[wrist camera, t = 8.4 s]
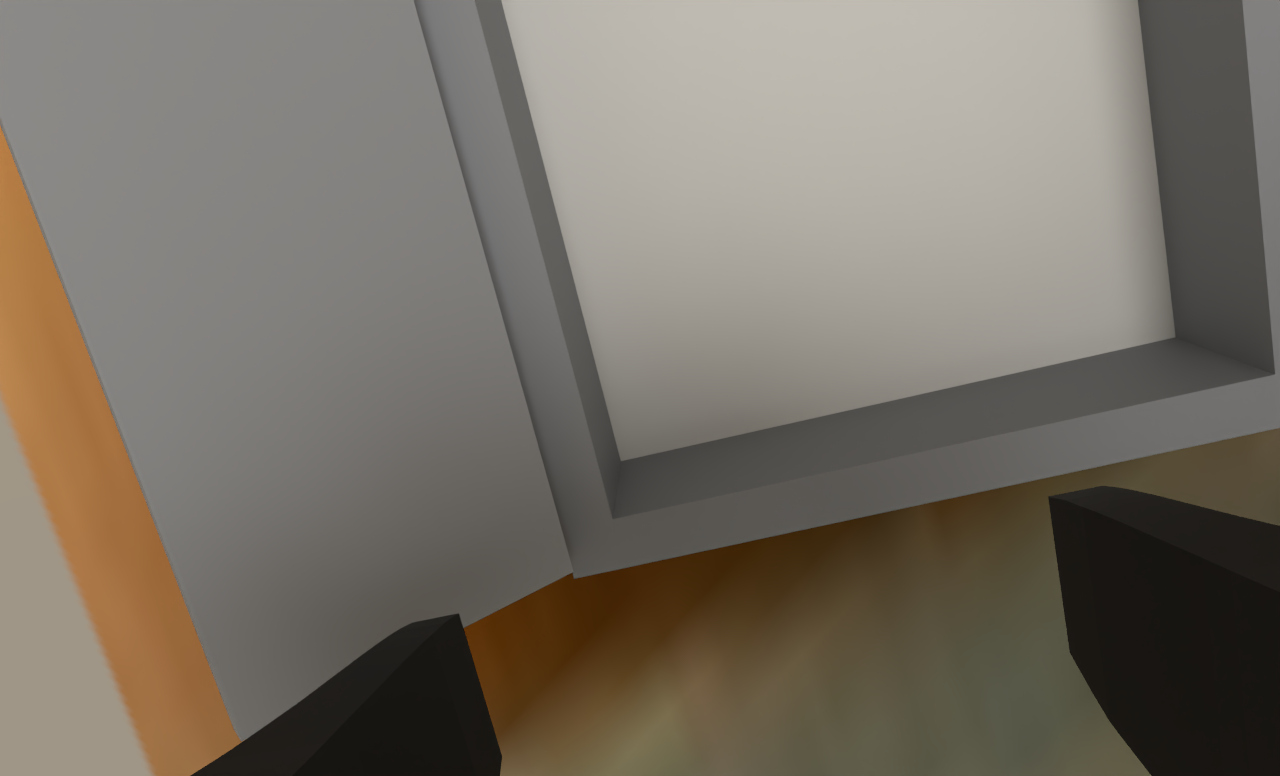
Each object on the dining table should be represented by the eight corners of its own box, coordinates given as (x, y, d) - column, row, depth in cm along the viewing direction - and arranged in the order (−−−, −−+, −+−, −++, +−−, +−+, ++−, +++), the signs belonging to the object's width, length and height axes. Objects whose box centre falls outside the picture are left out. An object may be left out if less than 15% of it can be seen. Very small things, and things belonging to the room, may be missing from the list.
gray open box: (1125, -484, 17) (1259, -667, 13) (1213, 365, 21) (1337, 415, 17) (382, -266, 18) (306, -376, 14) (590, 502, 22) (573, 579, 18)
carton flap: (-205, -414, 11) (-199, -387, 11) (240, 741, 14) (233, 729, 15) (310, -370, 14) (300, -351, 14) (573, 571, 17) (559, 565, 18)
